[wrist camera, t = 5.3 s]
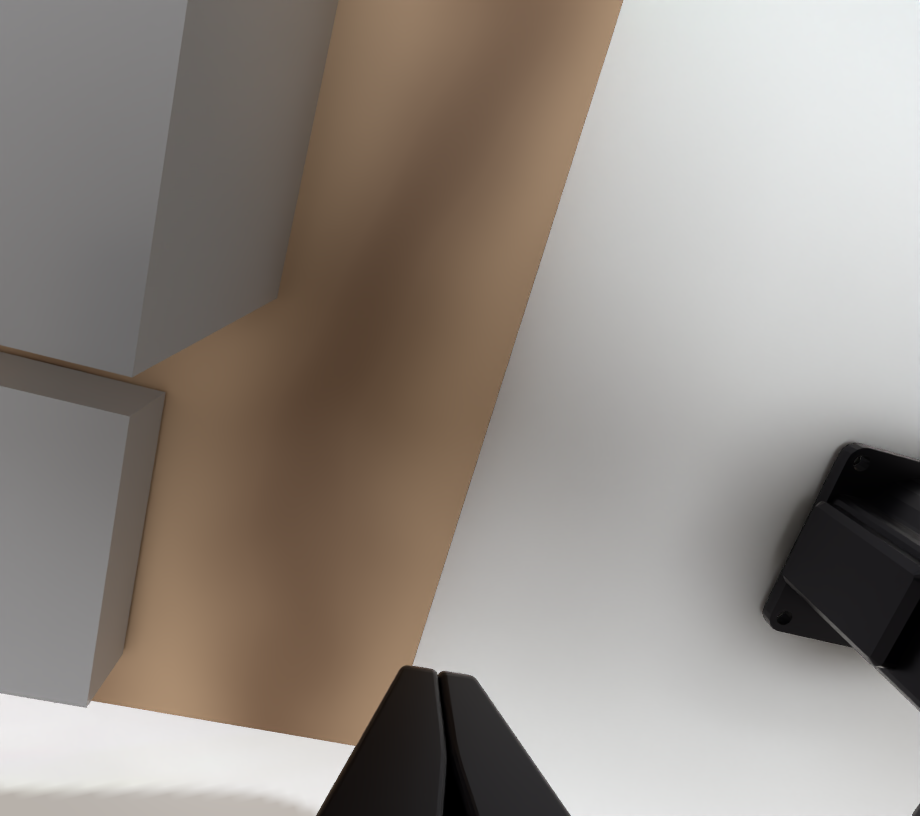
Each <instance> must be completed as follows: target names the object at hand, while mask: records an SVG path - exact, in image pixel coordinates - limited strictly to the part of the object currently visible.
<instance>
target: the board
mask: <svg viewBox="0 0 920 816" xmlns="http://www.w3.org/2000/svg"><path fill="white" fill-rule="evenodd" d="M622 3H623V0H339V1H338V6H337V10H336V15H335V20H334V25H333V30H332V35H331V39H330V44H329V49H328V54H327V59H326V64H325V69H324V73H323V78H322V83H321V88H320V93H319V98H318V102H317V107H316V112H315V117H314V122H313V127H312V132H311V136H310V141H309V146H308V151H307V156H306V161H305V165H304V170H303V175H302V180H301V185H300V190H299V195H298V199H297V204H296V209H295V214H294V219H293V224H292V228H291V233H290V238H289V243H288V248H287V253H286V258H285V262H284V267H283V272H282V277H281V282H280V287H279V291H278V296H277V299H275V300H273V301H271V302H269V303H267V304H266V305H264V306H262V307H260V308H258V309H256V310H255V311H253V312H251V313H249V314H247V315H245V316H244V317H242V318H240V319H238V320H236V321H234V322H233V323H231V324H229V325H227V326H225V327H223V328H222V329H220V330H218V331H216V332H214V333H213V334H211V335H209V336H207V337H205V338H203V339H202V340H200V341H198V342H196V343H194V344H192V345H191V346H189V347H187V348H185V349H183V350H181V351H180V352H178V353H176V354H174V355H172V356H170V357H169V358H167V359H165V360H163V361H161V362H159V363H158V364H156V365H154V366H152V367H150V368H148V369H147V370H145V371H143V372H141V373H139V374H137V375H136V376H134V377H128V376H124V375H120V374H116V373H112V372H108V371H104V370H100V369H96V368H92V367H88V366H84V365H80V364H76V363H72V362H67V361H63V360H59V359H55V358H51V357H47V356H43V355H39V354H35V353H31V352H27V351H23V350H19V349H15V348H11V347H7V346H3V345H0V352H3V353H8V354H12V355H16V356H20V357H24V358H28V359H32V360H36V361H40V362H44V363H48V364H52V365H56V366H61V367H65V368H69V369H73V370H77V371H81V372H85V373H89V374H93V375H97V376H101V377H105V378H110V379H114V380H118V381H122V382H126V383H130V384H134V385H138V386H142V387H146V388H150V389H154V390H158V391H163V392H166V393H165V399H164V405H163V411H162V417H161V424H160V430H159V436H158V442H157V448H156V454H155V460H154V466H153V472H152V478H151V485H150V491H149V497H148V503H147V509H146V515H145V521H144V527H143V533H142V539H141V546H140V552H139V558H138V564H137V570H136V576H135V582H134V588H133V594H132V600H131V607H130V613H129V619H128V625H127V631H126V637H125V643H124V649H123V654H122V656H121V657H120V659H119V660H118V662H117V663H116V665H115V666H114V668H113V669H112V671H111V672H110V674H109V675H108V677H107V678H106V680H105V681H104V682H103V684H102V685H101V687H100V688H99V690H98V691H97V693H96V694H95V696H94V697H93V699H92V700H91V701H97V702H102V703H108V704H114V705H120V706H126V707H132V708H137V709H143V710H149V711H155V712H161V713H167V714H173V715H178V716H184V717H190V718H196V719H202V720H208V721H213V722H219V723H225V724H231V725H237V726H243V727H249V728H254V729H260V730H266V731H272V732H278V733H284V734H289V735H295V736H301V737H307V738H313V739H319V740H325V741H330V742H336V743H342V744H348V745H354V746H356V745H357V743H358V741H359V740H360V738H361V736H362V734H363V733H364V731H365V729H366V727H367V725H368V724H369V722H370V720H371V718H372V717H373V715H374V713H375V711H376V710H377V708H378V706H379V704H380V703H381V701H382V699H383V697H384V696H385V694H386V692H387V690H388V689H389V687H390V685H391V683H392V682H393V680H394V678H395V676H396V675H397V673H398V671H399V669H400V668H401V667H402V666H405V665H410V666H412V664H413V661H414V658H415V655H416V652H417V649H418V645H419V642H420V639H421V636H422V633H423V630H424V627H425V623H426V620H427V617H428V614H429V611H430V608H431V604H432V601H433V598H434V595H435V592H436V589H437V586H438V582H439V579H440V576H441V573H442V570H443V567H444V564H445V560H446V557H447V554H448V551H449V548H450V545H451V541H452V538H453V535H454V532H455V529H456V526H457V523H458V519H459V516H460V513H461V510H462V507H463V504H464V501H465V497H466V494H467V491H468V488H469V485H470V482H471V478H472V475H473V472H474V469H475V466H476V463H477V460H478V456H479V453H480V450H481V447H482V444H483V441H484V438H485V434H486V431H487V428H488V425H489V422H490V419H491V415H492V412H493V409H494V406H495V403H496V400H497V397H498V393H499V390H500V387H501V384H502V381H503V378H504V375H505V371H506V368H507V365H508V362H509V359H510V356H511V353H512V349H513V346H514V343H515V340H516V337H517V334H518V330H519V327H520V324H521V321H522V318H523V315H524V312H525V308H526V305H527V302H528V299H529V296H530V293H531V290H532V286H533V283H534V280H535V277H536V274H537V271H538V267H539V264H540V261H541V258H542V255H543V252H544V249H545V245H546V242H547V239H548V236H549V233H550V230H551V227H552V223H553V220H554V217H555V214H556V211H557V208H558V204H559V201H560V198H561V195H562V192H563V189H564V186H565V182H566V179H567V176H568V173H569V170H570V167H571V164H572V160H573V157H574V154H575V151H576V148H577V145H578V141H579V138H580V135H581V132H582V129H583V126H584V123H585V119H586V116H587V113H588V110H589V107H590V104H591V101H592V97H593V94H594V91H595V88H596V85H597V82H598V78H599V75H600V72H601V69H602V66H603V63H604V60H605V56H606V53H607V50H608V47H609V44H610V41H611V38H612V34H613V31H614V28H615V25H616V22H617V19H618V15H619V12H620V9H621V6H622Z"/></svg>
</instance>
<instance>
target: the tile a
mask: <svg viewBox="0 0 920 816" xmlns="http://www.w3.org/2000/svg"><path fill="white" fill-rule="evenodd" d="M165 393H166V392H163V391H158V390H154V389H150V388H146V387H142V386H138V385H134V384H130V383H126V382H122V381H118V380H114V379H110V378H105V377H101V376H97V375H93V374H89V373H85V372H81V371H77V370H73V369H69V368H65V367H61V366H56V365H52V364H48V363H44V362H40V361H36V360H32V359H28V358H24V357H20V356H16V355H12V354H8V353H3V352H0V693H3V694H9V695H14V696H20V697H26V698H32V699H38V700H44V701H50V702H56V703H62V704H68V705H74V706H79V707H85V708H86V707H87V706H88V705H89V703H90V702H91V700H92V699H93V697H94V696H95V694H96V693H97V691H98V690H99V688H100V687H101V685H102V684H103V682H104V681H105V680H106V678H107V677H108V675H109V674H110V672H111V671H112V669H113V668H114V666H115V665H116V663H117V662H118V660H119V659H120V657H121V656H122V654H123V649H124V643H125V637H126V631H127V625H128V619H129V613H130V607H131V600H132V594H133V588H134V582H135V576H136V570H137V564H138V558H139V552H140V546H141V539H142V533H143V527H144V521H145V515H146V509H147V503H148V497H149V491H150V485H151V478H152V472H153V466H154V460H155V454H156V448H157V442H158V436H159V430H160V424H161V417H162V411H163V405H164V399H165Z"/></svg>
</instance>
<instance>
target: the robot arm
mask: <svg viewBox="0 0 920 816" xmlns="http://www.w3.org/2000/svg"><path fill="white" fill-rule="evenodd" d="M860 456H861V459H860V461H859V463H858V464H856V465H854V461H855V460H856V459H857V458H858V457H860ZM784 611H785V612H784ZM782 612H784V613H783V614H782V615H781V616H779V617H777V616H778V615H779V614H780V613H782ZM763 617H764V619H765V620H766V621H767V622H768V623H769V624H770V626H771V627H772V628H773V629H775V630H777V631H780V632H785V633H789V634H794V635H799V636H803V637H808V638H812V639H817V640H821V641H826V642H830V643H835V644H839V645H844V646H848V647H853V648H854V649H855V650H856V651H857V652H858V653H859V654H860V655H861V656H862V657H863V658H864V659H866V660H867V661H868V662H869V663H870V664H871V665H872V666H874V667H875V668H876V669H877V670H878V671H879V672H880V673H881V674H882V675H883V676H884V677H885V678H886V679H887V680H888V681H889V682H890V683H891V684H892V685H893V686H894V687H895V688H896V689H897V690H898V691H899V692H900V693H901V694H902V695H903V696H904V697H905V698H906V699H907V700H909V701H910V702H911V703H912V704H913V705H914V706H915V707H916V708H917V709H918V710H919V711H920V460H918V459H915V458H911V457H907V456H904V455H900V454H897V453H893V452H889V451H886V450H882V449H879V448H875V447H871V446H868V445H864V444H861V443H853V444H850V445H847V446H846V447H845V448H843V449H842V450H841V452H840V453H839V455H838V457H837V459H836V461H835V463H834V465H833V467H832V469H831V471H830V473H829V475H828V477H827V479H826V481H825V483H824V485H823V487H822V489H821V491H820V493H819V496H818V498H817V500H816V502H815V504H814V506H813V508H812V510H811V512H810V514H809V516H808V518H807V520H806V522H805V524H804V526H803V528H802V530H801V532H800V534H799V537H798V539H797V541H796V543H795V545H794V547H793V549H792V551H791V553H790V555H789V557H788V559H787V561H786V563H785V565H784V567H783V569H782V571H781V573H780V575H779V578H778V580H777V582H776V584H775V586H774V588H773V590H772V592H771V594H770V596H769V598H768V600H767V602H766V604H765V606H764V609H763ZM316 816H571V815H570V814H569V813H568V811H567V810H566V808H565V807H564V805H563V804H562V802H561V801H560V799H559V798H558V797H557V795H556V794H555V792H554V791H553V789H552V788H551V786H550V785H549V784H548V782H547V781H546V779H545V778H544V776H543V775H542V773H541V772H540V771H539V769H538V768H537V766H536V765H535V763H534V762H533V760H532V759H531V757H530V756H529V755H528V753H527V752H526V750H525V749H524V747H523V746H522V744H521V743H520V742H519V740H518V739H517V737H516V736H515V734H514V733H513V731H512V730H511V729H510V727H509V726H508V724H507V723H506V721H505V720H504V718H503V717H502V715H501V714H500V713H499V711H498V710H497V708H496V707H495V705H494V704H493V702H492V701H491V700H490V698H489V697H488V695H487V694H486V692H485V691H484V689H483V688H482V687H481V685H480V684H479V682H478V681H477V680H476V679H475V678H474V677H473V676H471V675H467V674H461V673H454V672H448V671H442V672H440V673H439V674H438V675H437V673H436V672H435V671H434V670H433V669H429V668H423V667H416V666H410V665H405V666H402V667H401V668H400V669H399V671H398V673H397V675H396V676H395V678H394V680H393V682H392V683H391V685H390V687H389V689H388V690H387V692H386V694H385V696H384V697H383V699H382V701H381V703H380V704H379V706H378V708H377V710H376V711H375V713H374V715H373V717H372V718H371V720H370V722H369V724H368V725H367V727H366V729H365V731H364V733H363V734H362V736H361V738H360V740H359V741H358V743H357V745H356V747H355V748H354V750H353V752H352V754H351V755H350V757H349V759H348V761H347V762H346V764H345V766H344V768H343V769H342V771H341V773H340V775H339V776H338V778H337V780H336V782H335V783H334V785H333V787H332V789H331V790H330V792H329V794H328V796H327V797H326V799H325V801H324V803H323V804H322V806H321V808H320V810H319V811H318V813H317V815H316ZM912 816H920V804H919V805H918V807H917V808H916V809H915V811H914V812H913V814H912Z"/></svg>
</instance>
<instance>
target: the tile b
mask: <svg viewBox="0 0 920 816" xmlns="http://www.w3.org/2000/svg"><path fill="white" fill-rule="evenodd" d="M338 1H339V0H0V345H3V346H7V347H11V348H15V349H19V350H23V351H27V352H31V353H35V354H39V355H43V356H47V357H51V358H55V359H59V360H63V361H67V362H72V363H76V364H80V365H84V366H88V367H92V368H96V369H100V370H104V371H108V372H112V373H116V374H120V375H124V376H128V377H134V376H136V375H137V374H139V373H141V372H143V371H145V370H147V369H148V368H150V367H152V366H154V365H156V364H158V363H159V362H161V361H163V360H165V359H167V358H169V357H170V356H172V355H174V354H176V353H178V352H180V351H181V350H183V349H185V348H187V347H189V346H191V345H192V344H194V343H196V342H198V341H200V340H202V339H203V338H205V337H207V336H209V335H211V334H213V333H214V332H216V331H218V330H220V329H222V328H223V327H225V326H227V325H229V324H231V323H233V322H234V321H236V320H238V319H240V318H242V317H244V316H245V315H247V314H249V313H251V312H253V311H255V310H256V309H258V308H260V307H262V306H264V305H266V304H267V303H269V302H271V301H273V300H275V299H277V296H278V291H279V287H280V282H281V277H282V272H283V267H284V262H285V258H286V253H287V248H288V243H289V238H290V233H291V228H292V224H293V219H294V214H295V209H296V204H297V199H298V195H299V190H300V185H301V180H302V175H303V170H304V165H305V161H306V156H307V151H308V146H309V141H310V136H311V132H312V127H313V122H314V117H315V112H316V107H317V102H318V98H319V93H320V88H321V83H322V78H323V73H324V69H325V64H326V59H327V54H328V49H329V44H330V39H331V35H332V30H333V25H334V20H335V15H336V10H337V6H338Z"/></svg>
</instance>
